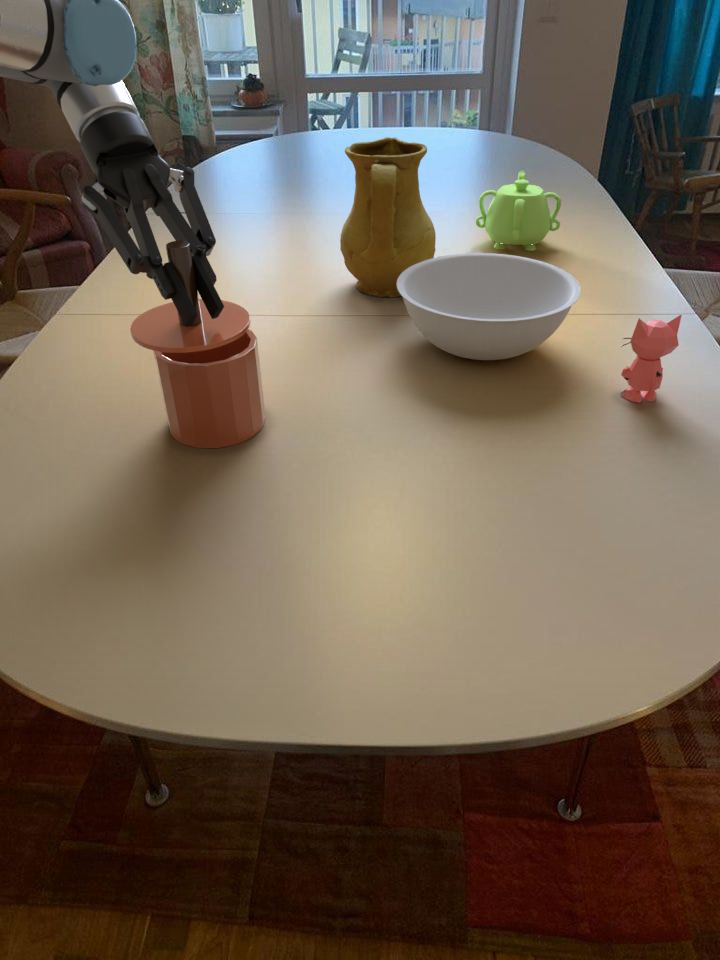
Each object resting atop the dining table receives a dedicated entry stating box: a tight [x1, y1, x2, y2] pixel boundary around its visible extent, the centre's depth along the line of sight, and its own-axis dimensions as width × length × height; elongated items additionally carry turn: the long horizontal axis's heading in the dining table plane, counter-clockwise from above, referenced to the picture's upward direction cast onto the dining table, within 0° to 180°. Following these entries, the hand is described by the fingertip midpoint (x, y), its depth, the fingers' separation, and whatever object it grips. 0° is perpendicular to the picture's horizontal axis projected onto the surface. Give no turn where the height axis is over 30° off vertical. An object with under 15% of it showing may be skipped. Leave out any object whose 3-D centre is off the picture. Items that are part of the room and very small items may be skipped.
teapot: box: [475, 169, 562, 252], centre depth 152 cm, size 16×14×13 cm
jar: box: [152, 328, 266, 449], centre depth 95 cm, size 13×13×12 cm
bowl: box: [397, 252, 582, 361], centre depth 113 cm, size 27×27×10 cm
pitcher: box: [339, 136, 437, 298], centre depth 129 cm, size 17×19×25 cm
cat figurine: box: [620, 313, 682, 404], centre depth 98 cm, size 7×7×12 cm
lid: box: [129, 240, 251, 353], centre depth 82 cm, size 14×14×10 cm
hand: (204, 316), depth 81 cm, fingers closed on lid, 3 cm apart
